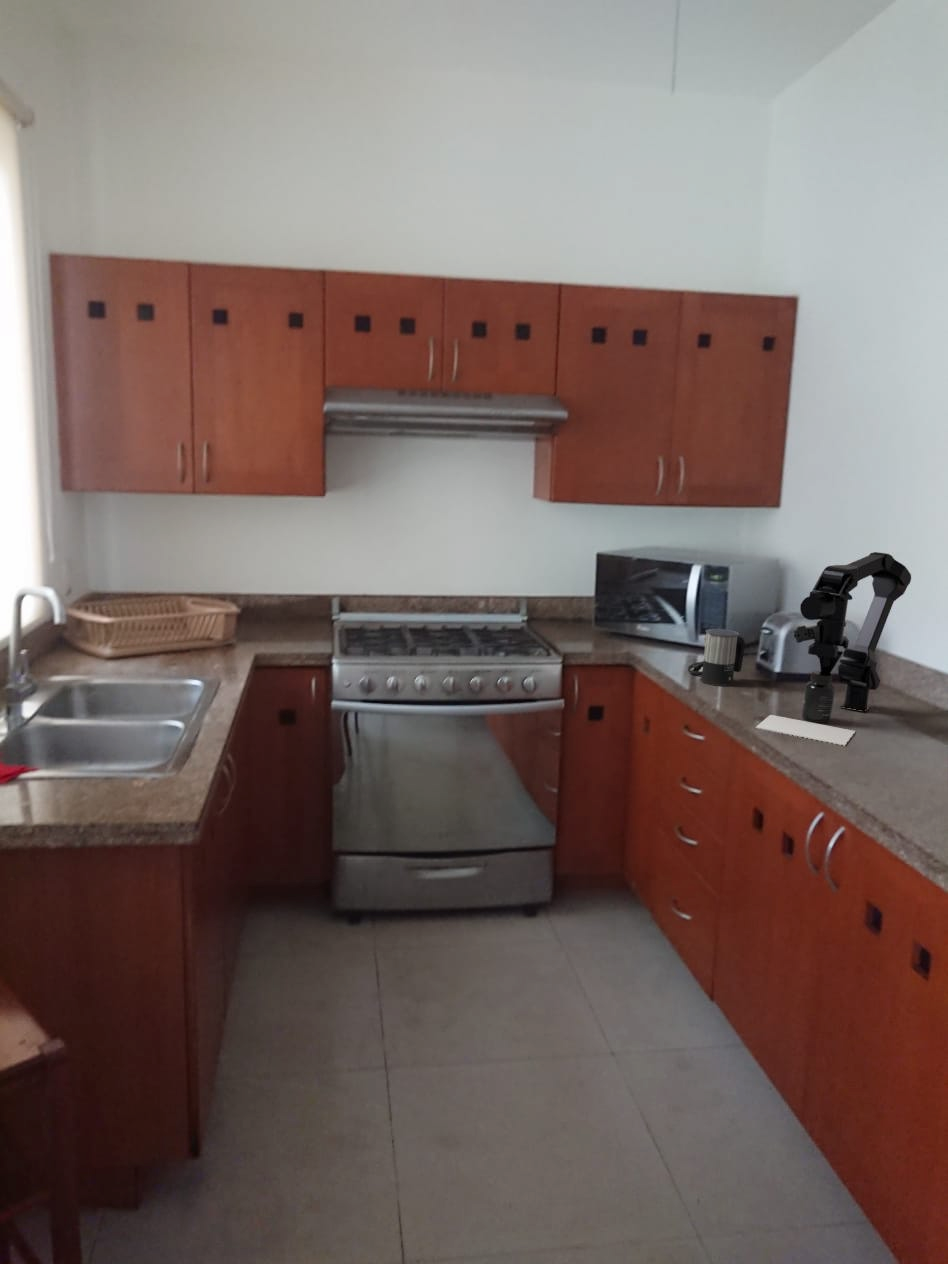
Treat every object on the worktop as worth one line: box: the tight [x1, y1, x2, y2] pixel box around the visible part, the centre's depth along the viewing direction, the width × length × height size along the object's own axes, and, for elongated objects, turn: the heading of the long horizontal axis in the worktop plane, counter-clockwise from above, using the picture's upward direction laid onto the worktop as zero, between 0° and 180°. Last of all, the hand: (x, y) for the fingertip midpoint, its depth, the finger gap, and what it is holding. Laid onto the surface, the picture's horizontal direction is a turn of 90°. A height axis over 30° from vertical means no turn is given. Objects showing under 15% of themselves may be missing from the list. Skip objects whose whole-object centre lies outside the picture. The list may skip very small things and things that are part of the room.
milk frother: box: [687, 628, 746, 687], centre depth 264 cm, size 14×16×15 cm
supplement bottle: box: [801, 670, 835, 724], centre depth 227 cm, size 7×7×12 cm
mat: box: [755, 714, 856, 747], centre depth 218 cm, size 14×20×1 cm
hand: (824, 678), depth 230 cm, fingers closed
